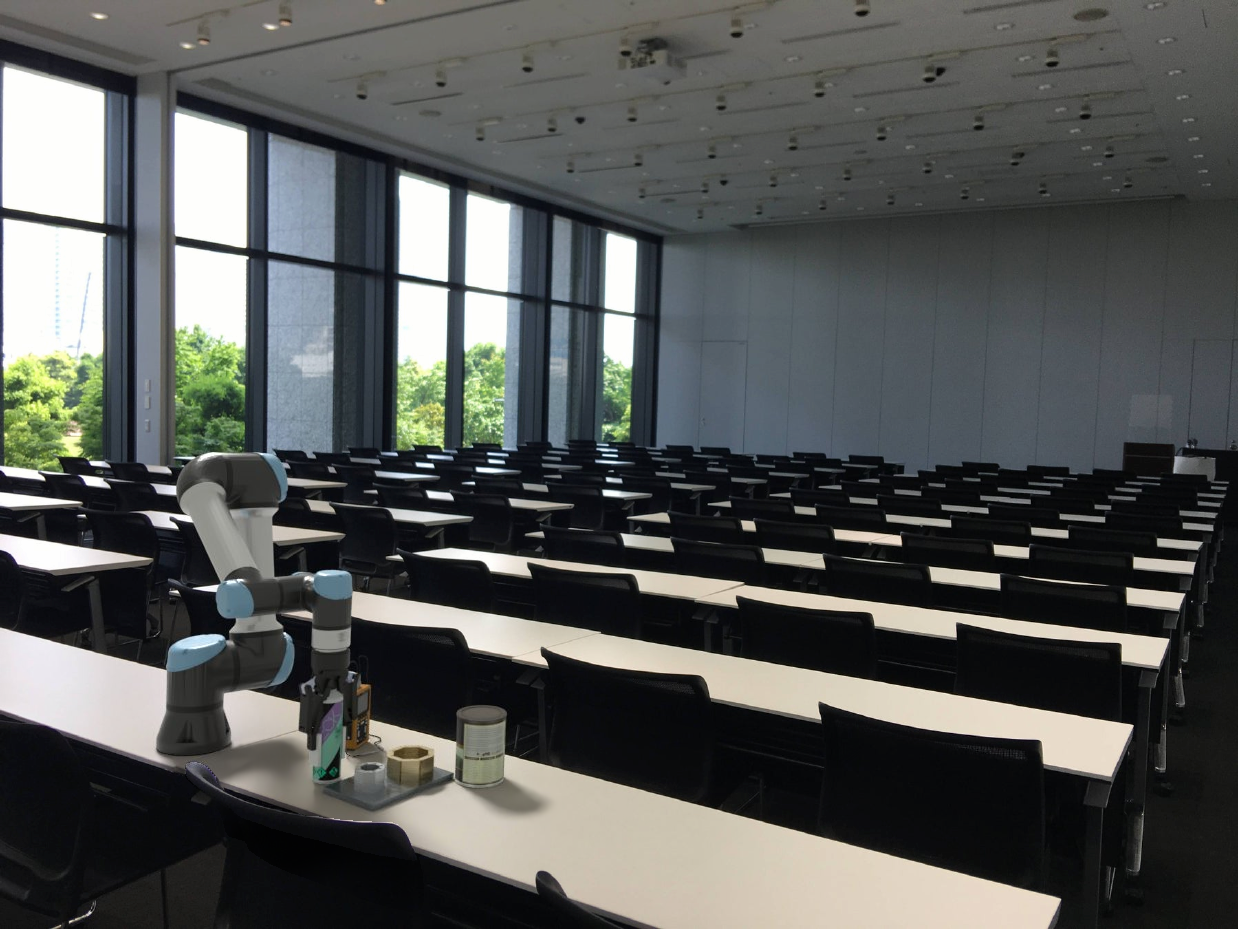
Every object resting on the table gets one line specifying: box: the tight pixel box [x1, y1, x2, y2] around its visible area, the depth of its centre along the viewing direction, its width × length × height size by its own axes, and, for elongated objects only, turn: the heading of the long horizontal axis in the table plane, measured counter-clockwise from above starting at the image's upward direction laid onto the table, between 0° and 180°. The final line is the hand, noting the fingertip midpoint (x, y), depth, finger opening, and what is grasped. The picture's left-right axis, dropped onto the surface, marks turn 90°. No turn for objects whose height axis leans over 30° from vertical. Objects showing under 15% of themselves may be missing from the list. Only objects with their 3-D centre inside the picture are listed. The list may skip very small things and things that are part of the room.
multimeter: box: [345, 655, 387, 758], centre depth 217 cm, size 15×10×20 cm
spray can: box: [312, 688, 343, 785], centre depth 197 cm, size 6×6×20 cm
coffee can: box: [453, 704, 508, 789], centre depth 201 cm, size 10×10×14 cm
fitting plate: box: [322, 744, 455, 812], centre depth 195 cm, size 14×22×5 cm, turn 146°
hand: (327, 760), depth 197 cm, fingers closed on spray can, 5 cm apart
